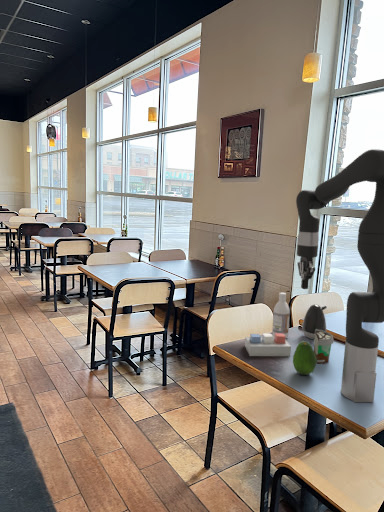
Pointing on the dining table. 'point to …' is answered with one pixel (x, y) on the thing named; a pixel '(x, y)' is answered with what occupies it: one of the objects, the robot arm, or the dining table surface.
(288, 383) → the dining table surface
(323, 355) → the food container
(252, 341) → the blue key
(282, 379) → the dining table surface
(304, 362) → the avocado
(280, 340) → the red key
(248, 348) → the button panel
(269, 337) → the white key
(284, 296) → the bath foam
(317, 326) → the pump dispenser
